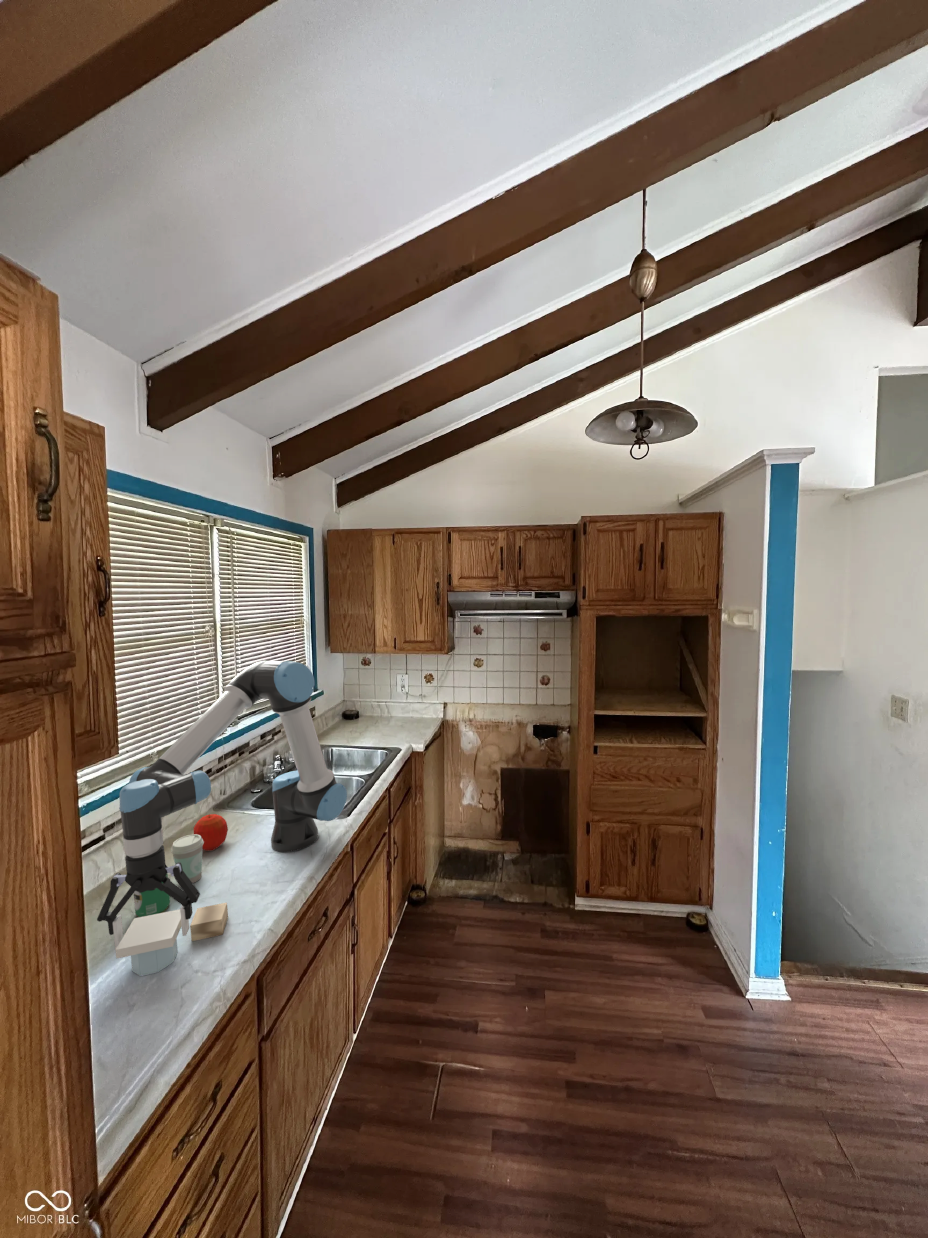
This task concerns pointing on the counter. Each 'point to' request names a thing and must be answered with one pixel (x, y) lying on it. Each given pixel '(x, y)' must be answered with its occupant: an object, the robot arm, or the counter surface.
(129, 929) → the ceramic tile
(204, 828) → the apple
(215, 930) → the cork block
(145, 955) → the bowl
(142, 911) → the beverage can
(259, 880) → the counter surface
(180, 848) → the coffee cup
